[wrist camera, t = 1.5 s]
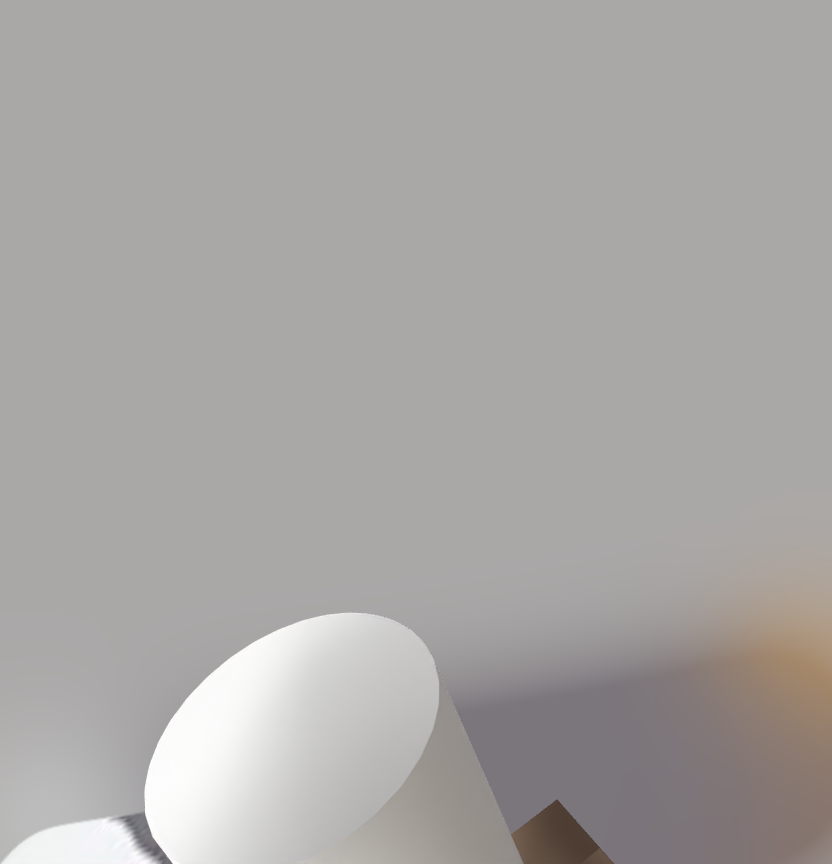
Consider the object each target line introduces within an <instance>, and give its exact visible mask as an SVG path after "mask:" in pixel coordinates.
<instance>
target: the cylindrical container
mask: <svg viewBox="0 0 832 864" xmlns="http://www.w3.org/2000/svg"><path fill="white" fill-rule="evenodd" d="M145 815H146V818H147V821H148V824H149V827H150V830H151V833H152V836H153V838H154V839H155V841H156V842H157V843H158V844H159V846H160V847H161V848H162V850H163V851H164V852H165V854H166V855H167V856H168V858H169V859H170V860H171V861H172V863H173V864H523V861H522V859H521V857H520V855H519V852H518V850H517V848H516V845H515V843H514V841H513V839H512V836H511V834H510V832H509V829H508V827H507V825H506V823H505V820H504V818H503V816H502V814H501V811H500V809H499V807H498V805H497V802H496V800H495V798H494V795H493V793H492V791H491V789H490V786H489V784H488V782H487V779H486V777H485V775H484V773H483V770H482V768H481V766H480V764H479V761H478V759H477V757H476V754H475V752H474V750H473V748H472V746H471V743H470V741H469V738H468V736H467V734H466V732H465V729H464V727H463V725H462V723H461V720H460V718H459V716H458V714H457V711H456V709H455V707H454V704H453V702H452V700H451V698H450V695H449V693H448V691H447V688H446V686H445V684H444V682H443V679H442V677H441V675H440V672H439V670H438V668H437V666H436V663H435V661H434V659H433V657H432V656H431V654H430V652H429V650H428V649H427V647H426V645H425V644H424V642H423V641H422V640H421V639H420V638H419V637H418V636H417V635H415V634H414V633H413V632H412V631H411V630H410V629H409V628H407V627H405V626H403V625H401V624H399V623H397V622H395V621H393V620H392V619H389V618H385V617H381V616H377V615H373V614H365V613H340V614H330V615H323V616H319V617H315V618H311V619H307V620H303V621H300V622H297V623H295V624H292V625H289V626H287V627H284V628H281V629H279V630H277V631H275V632H273V633H271V634H269V635H267V636H265V637H263V638H261V639H259V640H257V641H255V642H254V643H252V644H251V645H249V646H247V647H246V648H245V649H243V650H241V651H240V652H238V653H237V654H235V655H234V656H233V657H231V658H229V659H228V660H227V661H226V662H225V663H223V664H222V665H221V666H220V667H219V668H218V669H216V670H215V671H214V672H213V673H212V674H210V675H209V676H208V677H207V678H206V679H205V680H204V681H203V682H202V683H201V684H200V685H199V686H198V687H197V688H196V689H195V690H194V692H193V693H192V694H191V695H190V696H189V697H188V698H187V699H186V700H185V702H184V703H183V705H182V706H181V707H180V709H179V710H178V711H177V713H176V714H175V715H174V717H173V718H172V719H171V721H170V723H169V724H168V726H167V728H166V730H165V731H164V733H163V735H162V737H161V739H160V741H159V742H158V745H157V747H156V750H155V752H154V755H153V757H152V760H151V763H150V765H149V770H148V775H147V780H146V786H145Z"/></svg>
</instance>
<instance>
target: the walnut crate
mask: <svg viewBox="0 0 832 864" xmlns="http://www.w3.org/2000/svg"><path fill="white" fill-rule="evenodd" d="M511 836H512V839H513V841H514V843H515V845H516V848H517V850H518V852H519V855H520V857H521V859H522V861H523V864H614V863H613V862H612V861H611V860H610V859H609V858H608V856H607V855H606V854H605V853H604V852H603V851H602V850H601V849H600V847H599V846H598V845H597V844H596V843H595V842H594V841H593V840H592V838H590V836H589V835H588V834H587V833H586V832H585V831H584V829H583V828H582V827H581V826H580V825H579V824H578V823H577V822H576V820H575V819H574V818H573V817H572V816H571V815H570V814H569V812H567V810H566V809H565V808H564V807H563V806H562V805H561V803H560V802H559V801H558V800H556V801H555V802H553V803H552V804H551V805H549V806H548V807H547V808H545V809H544V810H543V811H541V812H540V813H539V814H538V815H536V816H535V817H534V818H532V819H531V820H530V821H529V822H527V823H526V824H525V825H523V826H522V827H521V828H519V829H518V830H517V831H516V832H514V833H513V834H512V835H511Z"/></svg>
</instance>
